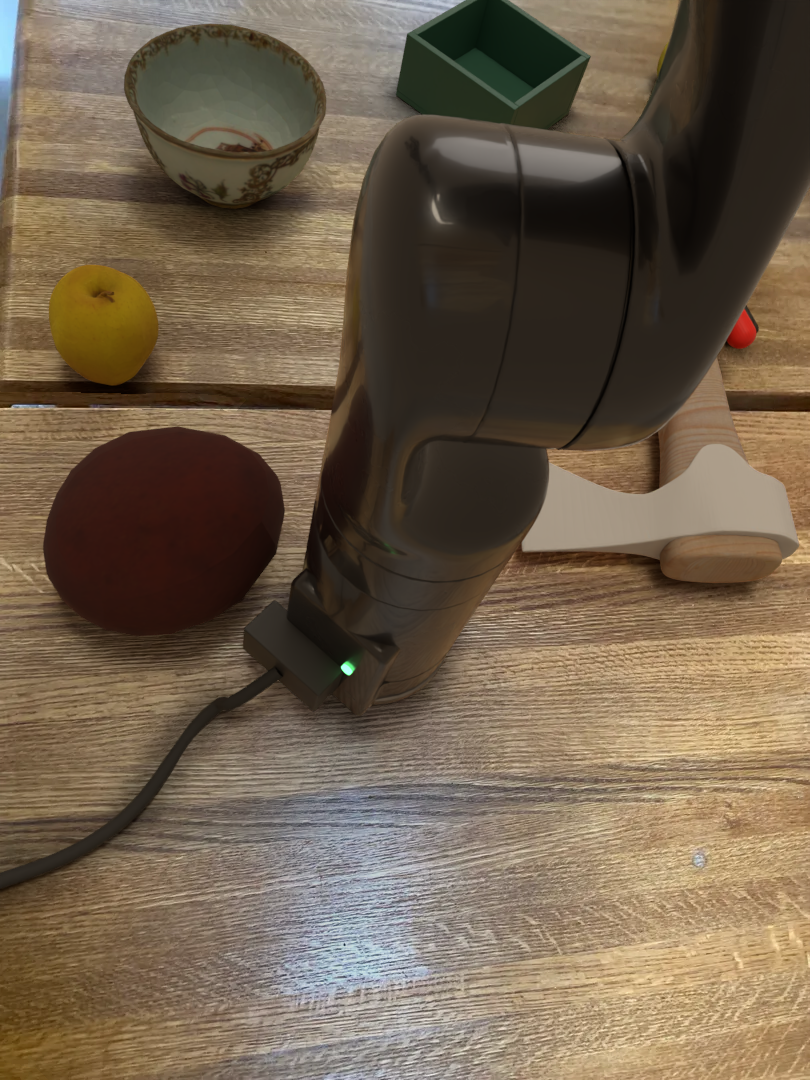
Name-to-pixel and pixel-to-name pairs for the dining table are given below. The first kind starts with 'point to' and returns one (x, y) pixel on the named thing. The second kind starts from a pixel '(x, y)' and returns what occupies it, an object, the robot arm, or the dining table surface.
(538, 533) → the axe
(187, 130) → the bowl
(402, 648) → the robot arm
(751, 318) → the toy gun
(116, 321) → the apple
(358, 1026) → the dining table surface
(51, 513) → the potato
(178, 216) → the dining table surface
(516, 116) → the bin
